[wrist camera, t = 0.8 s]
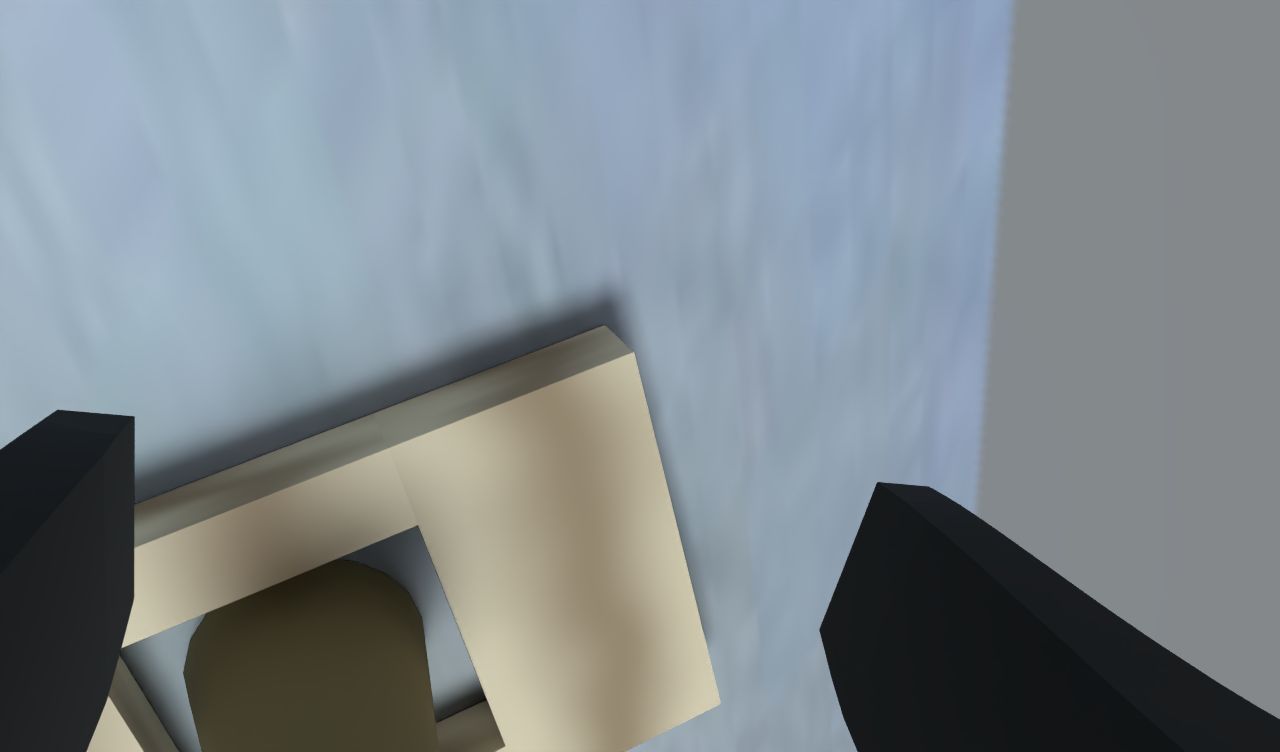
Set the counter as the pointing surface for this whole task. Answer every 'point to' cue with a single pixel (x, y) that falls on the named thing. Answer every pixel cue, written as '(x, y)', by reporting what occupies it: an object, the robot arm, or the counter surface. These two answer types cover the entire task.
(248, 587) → the socket board
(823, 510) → the counter surface
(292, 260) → the counter surface
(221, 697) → the cork
